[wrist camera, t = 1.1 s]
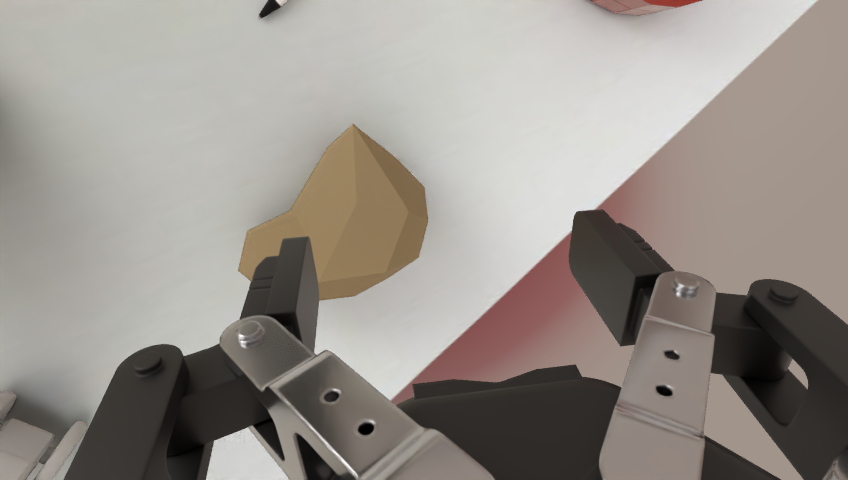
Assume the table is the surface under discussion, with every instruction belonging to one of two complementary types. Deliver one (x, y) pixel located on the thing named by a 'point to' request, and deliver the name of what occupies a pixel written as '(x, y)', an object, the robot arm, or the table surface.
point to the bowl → (641, 5)
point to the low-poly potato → (349, 218)
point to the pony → (31, 446)
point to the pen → (271, 7)
